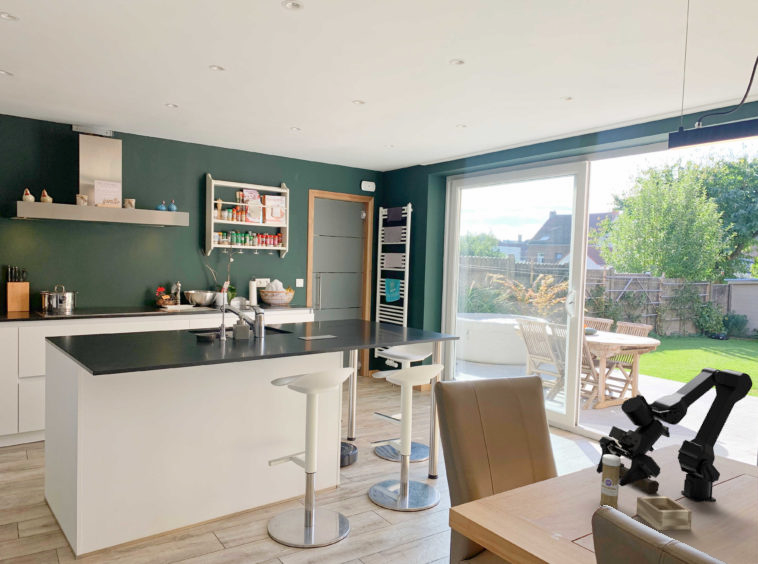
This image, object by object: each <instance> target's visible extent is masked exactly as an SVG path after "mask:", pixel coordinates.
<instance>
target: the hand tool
mask: <svg viewBox="0 0 758 564" xmlns="http://www.w3.org/2000/svg"><path fill="white" fill-rule="evenodd" d="M629 469H630V468H628V467H626V466H625V464H624V463H623V462H621V463H620V468H619V478H621V479H622V478H623V476H624V475H625V474H626V473H627V471H628V470H629ZM632 484H633V485H635V486H637V487H639V488H641V489H642V490H644V491H646V492H647V493H648V494H649V495H651V494H652V495H653V494H657V493H658V491H659V487H660V483H659V482H658V481H657V480H655V479H654V480H653V479H652V478H645V479H642V480H638V481H635V482H633V483H632Z"/></svg>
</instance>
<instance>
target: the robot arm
mask: <svg viewBox="0 0 758 564" xmlns="http://www.w3.org/2000/svg"><path fill="white" fill-rule="evenodd" d="M753 383H754V382H753V380H752V377H751V376H750V374H748V373H745V372H741V371H737V370H732V369H722V370H720V369H717V368H712V367H703V368H702V369H701V370H700V373H698V374H697V375H695V376H694V377H693V378H692V379H690V380H689V381H688V382H686V383H685V384H684V385H683V386H682V387H681V388H679V389H677V391H675V392H674V393H671V394H667V395H664V396H662V397H660V398H658V399H656V400H654V401H653V402H652V403H649V402H648V401H647V399H646V398H645V396H644V395H642V394H641V395H640V394H637V395H636V396H635V397H634V396H632V397H630V398H628V399H627V400H624V401H623V402H622V403H621V410H622V412H623V413H624V414H625V415H626V417H627V418H628V419H629V421H630V422H631V423H632V425H634V426H635V427H636V429H634V430H632V429H629V430H628V431H626V430H625V429H624V430H623V429H622V428H619V427H617V426H614V425H612V427H611V429H610V431H609V434H608V436H601V438H600V439H599V440H598V444H599V447H600V448H601V457H600V459H599V461H598V465H597V468H596V473H597V474H602V470H603V462H602V459H603V455H605V454H610V455H615V456H618V457H620V458H621V457H623V458H626V459H628V460H629V461H631V463H630V467H629V468H628V469H629V470H628V471H627V473H626V474H625V475H624V476H623V478H622V477H621V479H620V480H619V486H621V487H625V486H627V485H629V484H633V482H635V481H638V480H642V479H645V478H649V479H652V478H654V479H656V478H657V477H658V476H659V475H660V474H661V467H660V466H659V464H658V463H657V462H656V461H655V459H654V458H653V457H652V456H650V455H647V453H648V452H650V453H651V452H652V453H653V451H655V448H654V447H653V446H654V445H655V444H656V443H657V442H658V440H659V439H661V437H662V436H664V437H666V438H670V431H669V430H670V427H669V426H666V425H664V424H663V423H665V424H668V425H673V426H675V425H678V424H679V423H680V422H681V421H682V420H683V419H684V418H685V416H686V415H687V414H688V408H689V407H690V406H692V405H693V404H694V403H695V402H697V400H699V399H700V398H702V397H703V396H704V395H705V394H706V393H708V392H709V391H710V390H712V389H713V388H715V389H714V390H715V394H716V395H715V397H714V399H713V401H712V403H711V405H710V407H709V408H708V411H707V413H706V416H705V417H704V419H703V421H702V423H701V425H700V427H699V429H698V431H697V433H696V435H695V437H694V438H692V439H691V440H687V439H685V440H683V441H682V443H681V447H680V448H679V449H678V451H677V452H678V454H677V459H678V463H679V466H680V467H679V468H680V470H681V472H683V473H686V474H685V478H684V483H683V484H684V485H683V490H681V491H680V493H681V494H683V495H684V496H686V497H688V498H689V499H691V500H693V501H694V502H716V501H717V499H716V498H715V497H713V487H714V486H713V485H714V483H715V482H718V481H719V479H720V476H721V473H720V472H719V471H718V469H717V468H716V467H715V465H714V462H715V459H716V458H715V457H716V455H715V449H714V447H715V444H716V443H717V441H718V438H719V437H720V434H721V432H722V431H723V429H724V427H725V424H726V422H727V421H728V418H729V417H730V414H731V412H732V410H733V409H734V407H735V404H737V403H738V402H739V401H741V400H743V399H745V398H746V396H747V395H748V394H749V392H750V391H751V389H752V387H753ZM662 422H663V423H662ZM612 438H613V439H612ZM614 439H615V440H614Z"/></svg>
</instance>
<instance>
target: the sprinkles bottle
mask: <svg viewBox="0 0 758 564" xmlns="http://www.w3.org/2000/svg"><path fill="white" fill-rule="evenodd" d="M602 462H603V470H602V472H601V482H600V483H601V484H600V501H599V503H600V505H602V506H603V505H608V506H611V507H613V508H612V509H617V508H618V507H619V505H618V500H619V489H620V487H619V486H620V484H619V482H620V477H619V468H620V463H622V462H621V457H618V456H615V455H610V454H605V455H603V459H602Z"/></svg>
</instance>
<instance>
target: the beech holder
mask: <svg viewBox="0 0 758 564" xmlns="http://www.w3.org/2000/svg"><path fill="white" fill-rule="evenodd" d="M635 513H636V515H637V516H639V517H640V518H641V519H643V520H644V521H645V522H647V523H648V524H649V525H651V526H652V527H653V528H655V529H656V530H658V531H665V530H667V531H669V530H670V531H672V530H691V529H692V520H693V519H692V517H693V512H692V510H690V509H689V508H688V507H686V506H684V505H682V504H681V503H680V502H678V501H677V500H675V499H673V498H671V497H670V496H637V497H636V511H635Z"/></svg>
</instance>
